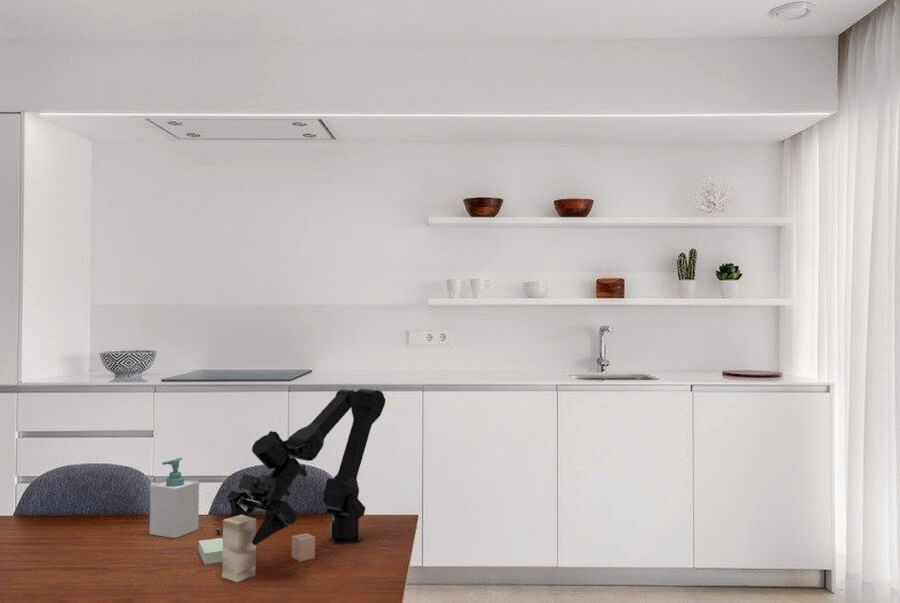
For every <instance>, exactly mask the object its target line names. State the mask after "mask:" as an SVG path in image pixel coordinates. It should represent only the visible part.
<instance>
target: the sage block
mask: <svg viewBox="0 0 900 603" xmlns="http://www.w3.org/2000/svg"><path fill="white" fill-rule="evenodd" d="M197 552H198V554H199V555H200V558H201V560H202V562H203V564H204V565H211V564H217V563H218V562H219V563H222V558H223V537H220V538H211V539H202V540H198V550H197Z"/></svg>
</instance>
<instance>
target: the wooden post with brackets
mask: <svg viewBox="0 0 900 603" xmlns="http://www.w3.org/2000/svg"><path fill="white" fill-rule="evenodd" d="M215 531H216V534H217V535H221V536H223V525H222V526H221V527H216V528H215ZM218 533H219V534H218Z"/></svg>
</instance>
